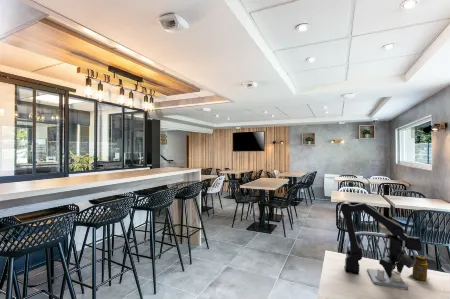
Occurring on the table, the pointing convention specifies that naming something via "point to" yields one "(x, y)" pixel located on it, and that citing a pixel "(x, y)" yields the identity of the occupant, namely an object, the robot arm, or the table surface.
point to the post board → (385, 279)
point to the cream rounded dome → (396, 275)
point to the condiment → (420, 270)
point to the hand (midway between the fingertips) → (394, 275)
